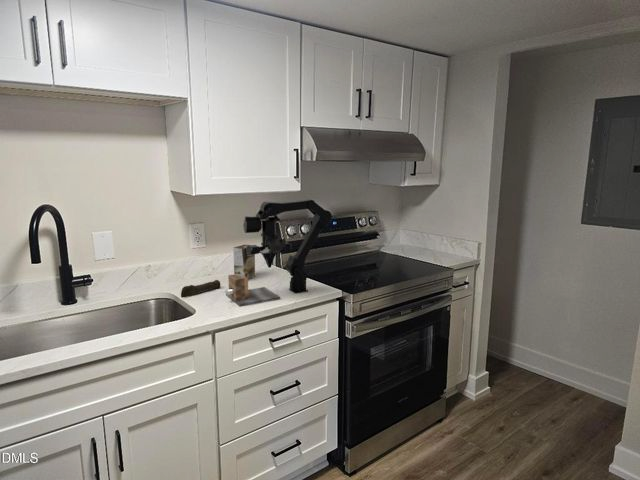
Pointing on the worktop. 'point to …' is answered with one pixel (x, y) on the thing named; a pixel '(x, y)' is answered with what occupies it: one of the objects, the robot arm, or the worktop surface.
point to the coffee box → (244, 262)
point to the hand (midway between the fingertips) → (269, 267)
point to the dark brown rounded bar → (199, 288)
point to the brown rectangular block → (245, 288)
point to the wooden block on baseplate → (253, 294)
